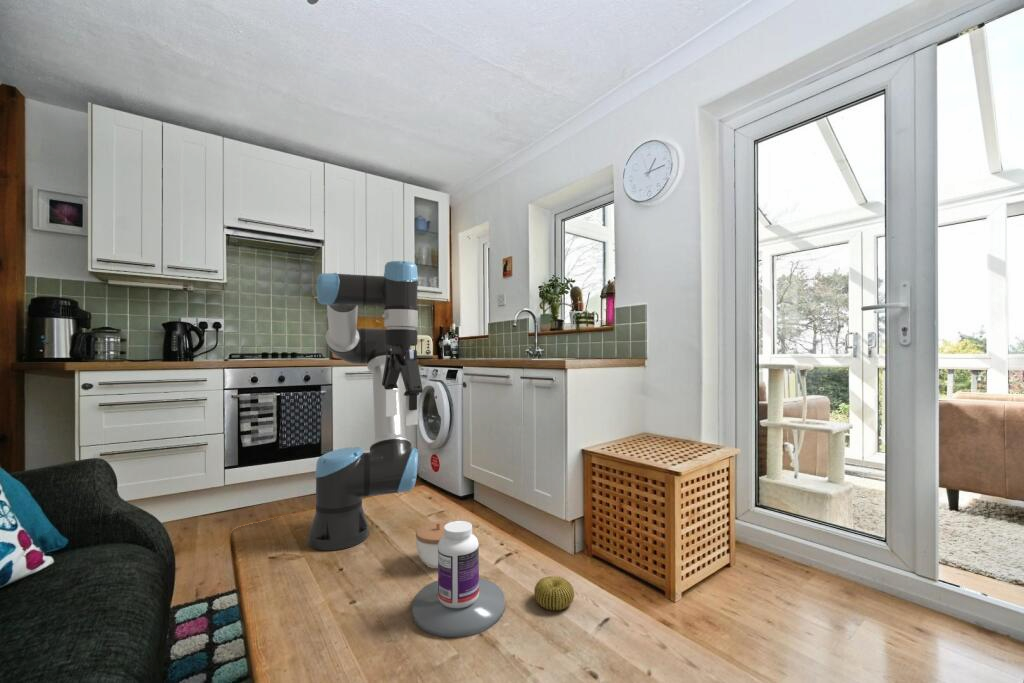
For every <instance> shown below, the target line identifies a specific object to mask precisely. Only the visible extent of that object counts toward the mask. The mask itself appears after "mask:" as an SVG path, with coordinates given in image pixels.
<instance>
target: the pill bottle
mask: <svg viewBox="0 0 1024 683" xmlns="http://www.w3.org/2000/svg"><path fill="white" fill-rule="evenodd" d="M449 522H450V523H448V524H446V525H445V526H444V535H445V536H443V537H442V538H441V539H440V541H439V543H438V569H437V574H438V575H437V580H438V598H439V601H440V602H441V603H442V604H443V605H444V606H446V607H448V608H464V607H467V606H470V605H471V604H473V603H474V602H475V601H476V600H477V598H478V596H479V577H480V566H479V565H480V561H479V560H480V559H479V554H480V553H479V552H480V551H479V549H480V547H479V546H480V545H479V540H478V538H477V537H476V535H474V534H473V525H472V523H471V522H469V521H465V520H455V521H449Z"/></svg>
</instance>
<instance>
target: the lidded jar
mask: <svg viewBox="0 0 1024 683" xmlns="http://www.w3.org/2000/svg"><path fill="white" fill-rule="evenodd" d="M450 522H451V521H448V520H447V521H446V520H445V521H444V520H443V521H442V520H441V521H431V522H429V523H428V522H427V523H425V524H423V525H420V526H419V527H418V528H417V529H416V531H415V540H416V545H415V546H416V550H417V553H418V554H417V555H418V557H419V558H420V560H421V561H422V562H423V563H424V564H425V566H426V565H427V566H428V568H429V567H432V568H431V569H433V568H438V543H439V541H440V539H441V538H442V537H443V536H445V535H444V526H445V525H446V524H448V523H450ZM427 566H426V567H427Z"/></svg>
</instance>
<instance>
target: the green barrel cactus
mask: <svg viewBox="0 0 1024 683" xmlns="http://www.w3.org/2000/svg"><path fill="white" fill-rule="evenodd" d="M533 590H534V594H533V595H534V598H535V600H536V602H537V603H538V604H539V605H540V606H541V607H542V608H544V609H547V610H550V611H562V610H565V609H566V608H568V607H569V606H570V605H571V604H572V603H573V601H574V599H575V598H574V597H575V591H574V587H573V585H572V584H571V583H570V581H569V580H568V579H565V578H563V577H560V576H558V575H557V576H555V575H554V576H553V575H551V576H550V575H549V576H545V577H542V578H541V579H539V580H538V582H536V584H535V586H534V589H533Z"/></svg>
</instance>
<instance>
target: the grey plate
mask: <svg viewBox="0 0 1024 683" xmlns="http://www.w3.org/2000/svg"><path fill="white" fill-rule="evenodd" d="M505 597H506V596H505V594H504V591H503V590H502V588H501V587H500V586H499V585H498V584H496V583H494V582H493V581H492V580H489V579H486V578H483V577H481V576H479V596H478V598H477V600H476V601H475V602H474V603H473V604H471V605H470V606H467V607H464V608H448V607H446V606H444V605H443V604H442V603H441V602H440V601H439V598H438V579H437V580H435V581H433V582H431V583H429V584H426V585H425V586H424V587H423V588H421V589H420V590H419V591H418V592H417V593H416V594H415V596H414V598H413V602H412V605H411V606H412V607H411V608H412V611H411V612H412V618H413V621H414V623H415V624H416V625H417V627H419V629H421V630H422V631H424V632H426V633H428V634H430V635H433V636H437V637H442V638H463V637H469V636H470V637H471V636H474V635H477V634H480V633H483V632H485V631H487V630H488V629H490V628H492V627H493V626H495V625H496V624H497V623H498V622H499V621H500V620H501V618H502V617H503V615H504V613H505V607H506V603H505V602H506V601H505V600H506V599H505Z"/></svg>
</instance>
